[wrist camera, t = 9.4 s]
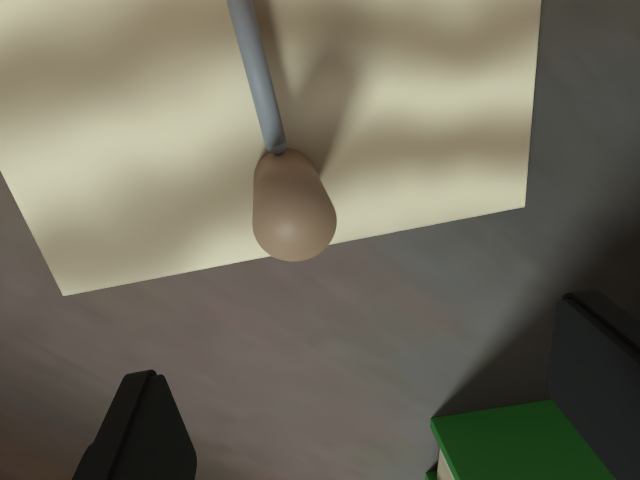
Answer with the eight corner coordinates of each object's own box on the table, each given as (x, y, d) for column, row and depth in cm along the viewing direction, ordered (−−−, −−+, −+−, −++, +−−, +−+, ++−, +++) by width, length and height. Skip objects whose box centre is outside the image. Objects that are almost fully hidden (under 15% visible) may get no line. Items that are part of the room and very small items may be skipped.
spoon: (347, 194, 22) (377, 241, 16) (237, 221, 21) (230, 278, 16) (258, -283, 14) (259, -493, 9) (84, -248, 14) (-29, -442, 8)
